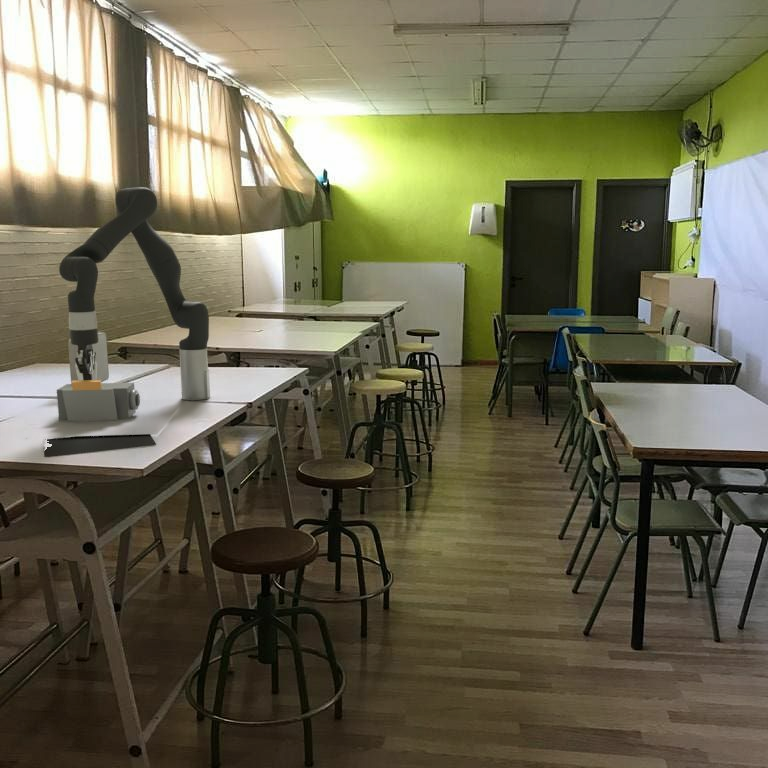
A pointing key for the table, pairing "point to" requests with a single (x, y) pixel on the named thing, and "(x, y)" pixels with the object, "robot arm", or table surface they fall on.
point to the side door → (89, 401)
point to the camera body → (123, 394)
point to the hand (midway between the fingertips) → (88, 386)
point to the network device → (100, 358)
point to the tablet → (96, 444)
